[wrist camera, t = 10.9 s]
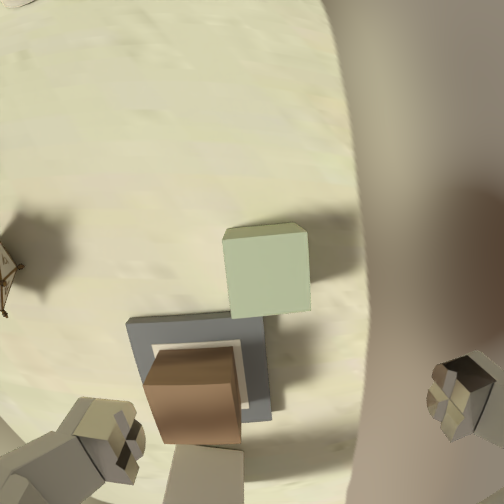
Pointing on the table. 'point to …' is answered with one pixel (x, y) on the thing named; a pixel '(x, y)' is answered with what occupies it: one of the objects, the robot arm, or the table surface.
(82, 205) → the table surface
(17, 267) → the game die
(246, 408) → the board
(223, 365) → the walnut block
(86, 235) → the table surface
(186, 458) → the milk carton
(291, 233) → the sage cube
